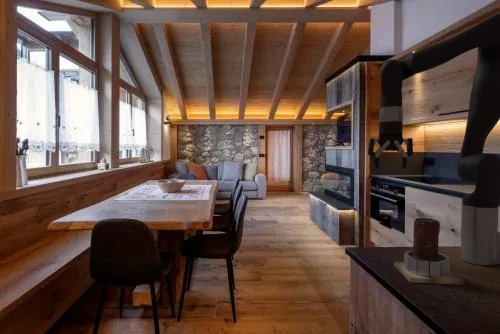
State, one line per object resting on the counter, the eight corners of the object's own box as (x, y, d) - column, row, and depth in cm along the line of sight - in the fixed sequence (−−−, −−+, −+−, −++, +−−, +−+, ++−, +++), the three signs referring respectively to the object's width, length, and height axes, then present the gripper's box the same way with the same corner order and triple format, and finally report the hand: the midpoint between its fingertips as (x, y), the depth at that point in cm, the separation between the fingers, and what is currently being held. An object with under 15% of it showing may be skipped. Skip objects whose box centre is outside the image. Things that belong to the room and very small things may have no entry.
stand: (440, 267, 100) (440, 263, 99) (463, 284, 87) (463, 279, 87) (394, 265, 101) (394, 261, 101) (410, 282, 88) (410, 277, 88)
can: (442, 274, 90) (443, 222, 90) (416, 273, 91) (417, 221, 91) (434, 267, 96) (435, 218, 95) (410, 265, 97) (411, 217, 97)
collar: (438, 264, 98) (438, 250, 98) (457, 278, 88) (457, 262, 88) (399, 263, 100) (399, 249, 99) (413, 276, 89) (413, 261, 89)
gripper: (408, 122, 119) (407, 168, 120) (366, 122, 121) (365, 168, 121) (416, 119, 112) (415, 169, 112) (371, 120, 113) (371, 169, 114)
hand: (389, 168), depth 117 cm, fingers open, 8 cm apart
